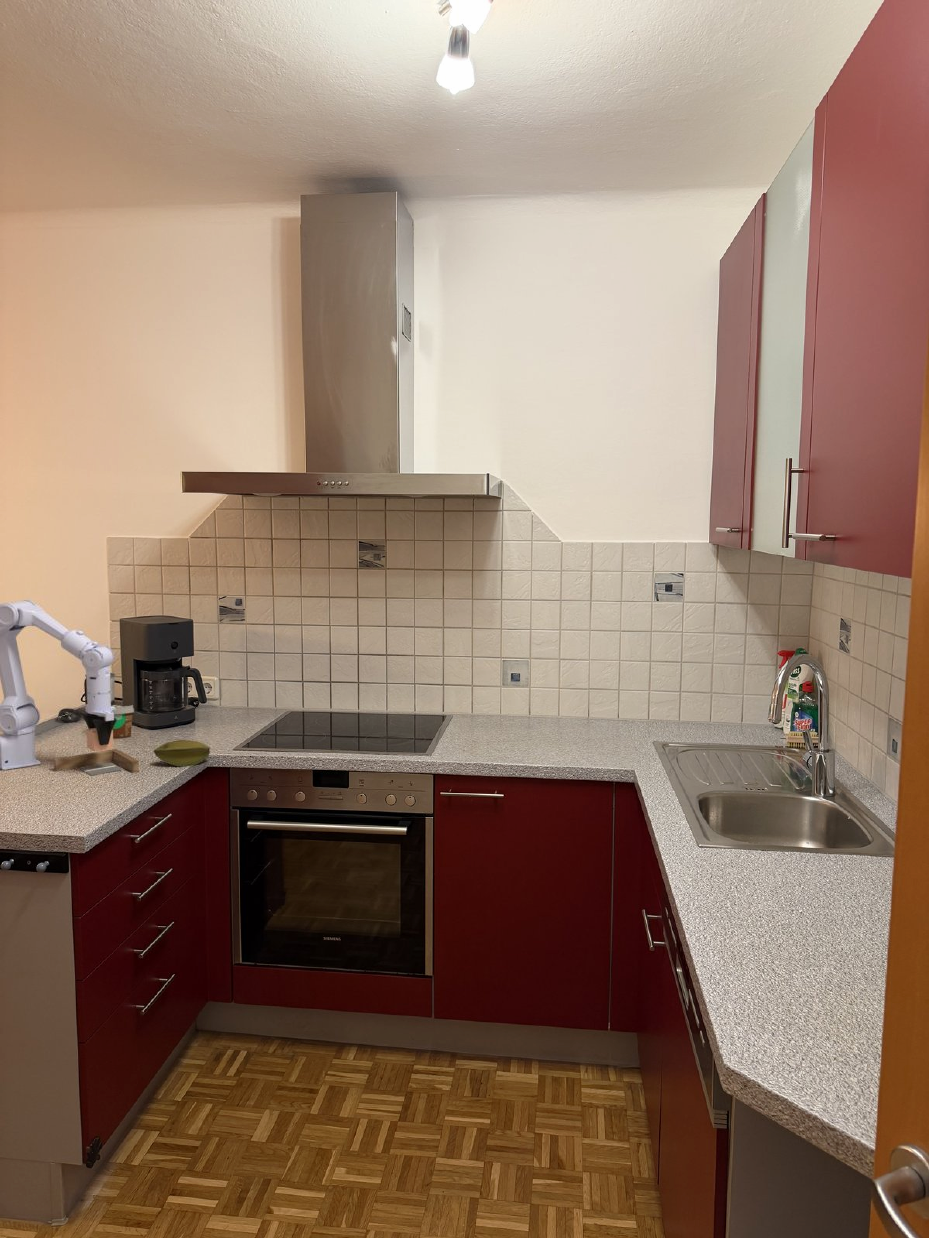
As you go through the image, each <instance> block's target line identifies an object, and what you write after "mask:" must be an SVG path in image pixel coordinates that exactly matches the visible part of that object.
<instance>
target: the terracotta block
mask: <svg viewBox="0 0 929 1238" xmlns="http://www.w3.org/2000/svg"><path fill="white" fill-rule="evenodd" d="M86 747H87V749H89V750H90V751H92V752H100V751H106V750H112V749H114V739H113V730H112V732H111V736H110V740H109V744H107V745H100V744H99V740H98V734H97V730H96V728H91V729H88V728H87V729H86Z"/></svg>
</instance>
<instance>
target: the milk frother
mask: <svg viewBox="0 0 929 1238" xmlns="http://www.w3.org/2000/svg"><path fill="white" fill-rule="evenodd" d="M84 676H85V679H84V682H83V683H84V684H83V685H84V686H83V687H84V688H83V689H84V703H85V705H86V704H87V674H85V675H84ZM115 676H116V674H115V673H113V672H110V687H111V705H116V704H115V703H116V702H115V694H116V693H115V688H116V687H115V686H116V685H115ZM71 713H72V714H74V715H76V717H74V718H72V714H71ZM65 714H68V715H65ZM87 714H88V713H87V712H86V713H82V712H81V711H79V710H76V709H73V708H70V707H69V708H67V707H66V708H62V709H61V710H59V711H58V714H57V717H58V718H59V716H62V715H65V716H62V717H61V719H62V720H61V719H60V720H61V721H64V722H65V721H66V723H67V722H79V721H80V720H81V719H82V716H83V715H87Z"/></svg>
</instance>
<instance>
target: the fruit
mask: <svg viewBox="0 0 929 1238" xmlns="http://www.w3.org/2000/svg"><path fill="white" fill-rule="evenodd" d="M153 753H154V755H155V756H156V757H157V758H158V759H159V760H160V761H163V762H164V763H167V764H168V765H172V766H174V767H175V766H176V767H183V768H184V767H191V766H196V765H198V764H200V763H202V762H204V761H205V760H206V759H208V757H209V756H210V753H211V747H210V746H208V745H206V744H205V743H204V742H200V741H197V740H196V741H195V740H189V739H179V740H173V741H169V742H166V743H164V744H162V745H160V746H159V747H157V748H155V749H154V750H153Z"/></svg>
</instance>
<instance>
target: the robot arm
mask: <svg viewBox="0 0 929 1238" xmlns="http://www.w3.org/2000/svg"><path fill="white" fill-rule="evenodd" d="M26 627H36V628H38V629H39V630H42V632H44V633H47V634H48V635H50V637H52V638H54V639H56V640H58V641H60V646H61V648H62V649H64V651H67V652H68V653H70V655H73V656H74V657H76V658H77V659H78V660H80V661H81V664H82V666H83V668H84V669H85V675H87V704H86V705H85V712H86V714H85V715H82V718H83V719H84V722H85V724H86V726H87V729H91V728H96V730H97V734H98V740H99V744H100V745H107V744H109V740H110V736H111V732H112V729H113V727H114V725H115V723H116V721H117V719H116V718H114V713H113V712H112V710H115V707H114V706H111V687H110V673H111V666H112V665H113V663H114V661H115V654H114V651H113V650H112V649H111V648H110V647H109V646H108V645H106V644H105V645H104V644H102V645H99V643H98V642H97V641H93V640H92V639H90V638H89V637H88V636H87V635H84V634H85V632H83V631H82V630H77V629H72V630H69V629H67V627H65V626H63V624H61V623H60V622H58V621H57V620H56V619H54V618H53V617H52V616H50V615H49V614H48V613H47V612H45V611H44V609H43V608H42V607H41V605H38V604H36V603H35V602H34V601H32V600H28V599H27V600H26V599H25V600H24V599H23V600H22V601H21V600H20V601H15V602H3V603H1V604H0V684H1V689H2V694H3V699H2V702H1V703H0V730H1V732H2V733H1V734H0V769H1V770H2V771H7V770H13V769H20V768H26V767H32V766H36V765H38V766H39V765H41V764H42V763H41V761H39V760H38V759H36V736H35V733H36V731H35V730H36V728H37V726H36V725H38V723H39V721H40V719H41V714H40V710H39V708H38V707H37V706H36V703H35V700H34V698H33V697H31V696H30V695H29V694H28V693H27V687H26V683H25V682H26V681H25V679H24V678H25V677H24V673H23V667H22V663H21V657H20V652H19V646H18V642H17V637H18V635H19V634H21V632H22V631H23V629H24V628H26ZM87 713H88V714H87Z"/></svg>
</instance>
